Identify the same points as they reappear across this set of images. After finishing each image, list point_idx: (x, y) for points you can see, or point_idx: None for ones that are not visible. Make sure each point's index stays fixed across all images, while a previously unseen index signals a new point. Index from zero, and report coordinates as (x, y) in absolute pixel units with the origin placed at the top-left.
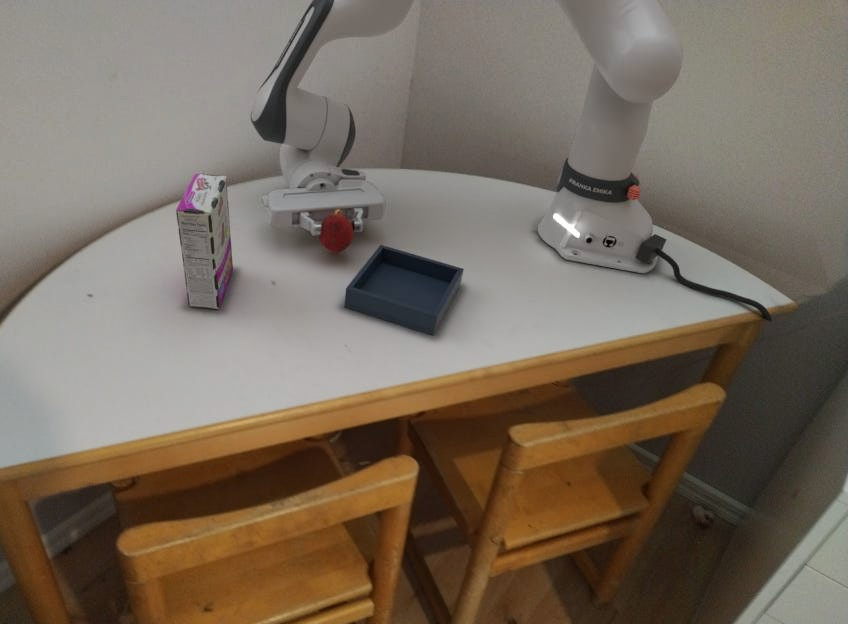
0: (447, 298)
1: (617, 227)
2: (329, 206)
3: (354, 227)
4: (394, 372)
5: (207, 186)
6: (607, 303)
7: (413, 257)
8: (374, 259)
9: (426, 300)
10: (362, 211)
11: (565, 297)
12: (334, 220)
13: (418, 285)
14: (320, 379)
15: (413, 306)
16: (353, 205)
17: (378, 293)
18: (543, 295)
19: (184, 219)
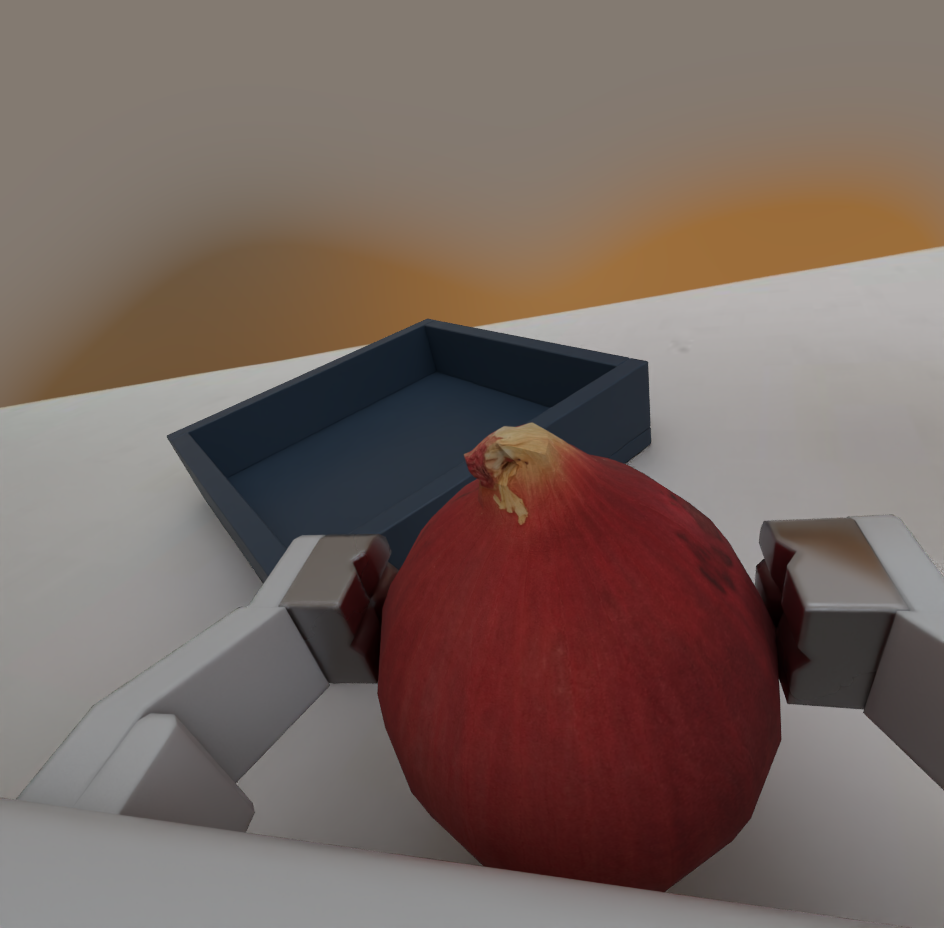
0: (347, 355)
1: None
2: (532, 885)
3: (384, 582)
4: (588, 319)
5: None
6: (19, 441)
7: (240, 495)
8: (422, 489)
9: (368, 432)
10: (108, 702)
11: (50, 456)
12: (600, 458)
13: (328, 483)
14: (767, 298)
15: (460, 330)
16: (74, 809)
17: None
18: (76, 463)
19: None
